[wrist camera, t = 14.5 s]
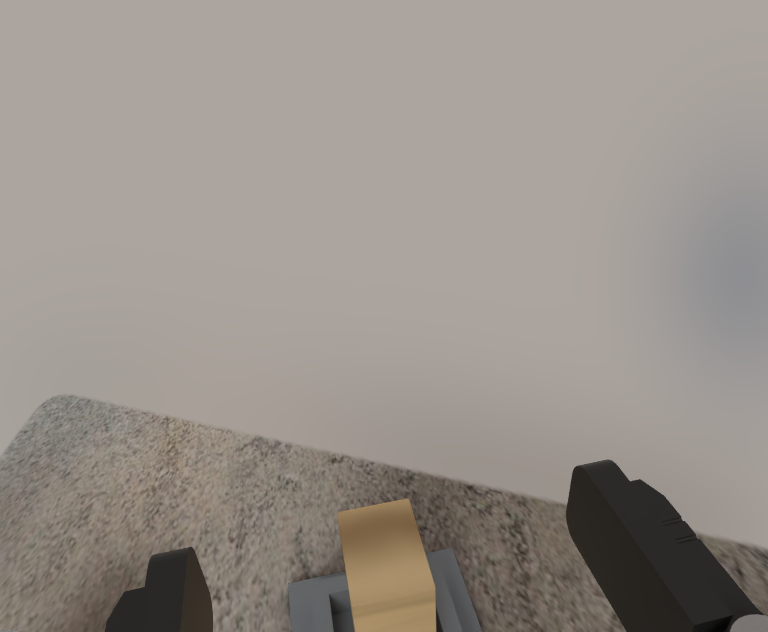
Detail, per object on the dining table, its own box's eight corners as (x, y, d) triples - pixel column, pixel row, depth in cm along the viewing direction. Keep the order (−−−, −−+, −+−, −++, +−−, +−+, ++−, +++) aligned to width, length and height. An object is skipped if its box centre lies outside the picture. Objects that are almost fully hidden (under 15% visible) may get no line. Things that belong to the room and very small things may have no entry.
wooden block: (437, 703, 36) (435, 587, 29) (368, 720, 35) (351, 605, 29) (414, 613, 41) (408, 498, 34) (353, 627, 40) (337, 512, 34)
